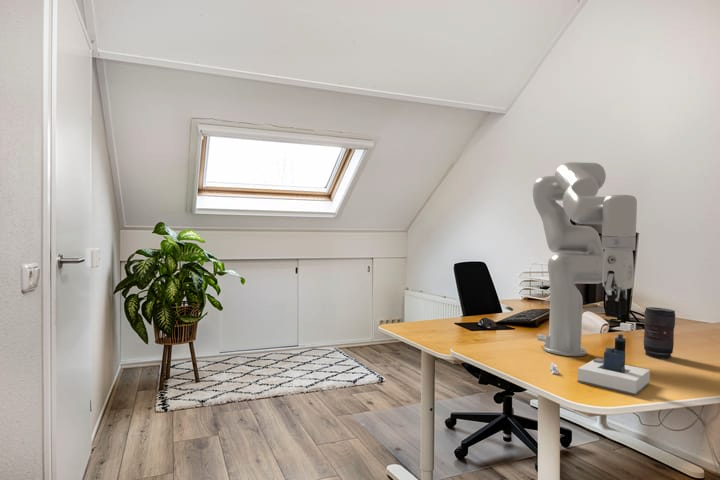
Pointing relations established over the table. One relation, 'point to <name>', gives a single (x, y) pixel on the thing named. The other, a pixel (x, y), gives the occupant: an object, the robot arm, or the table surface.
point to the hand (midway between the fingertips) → (615, 314)
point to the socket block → (614, 377)
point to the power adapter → (553, 368)
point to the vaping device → (615, 356)
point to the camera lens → (659, 332)
